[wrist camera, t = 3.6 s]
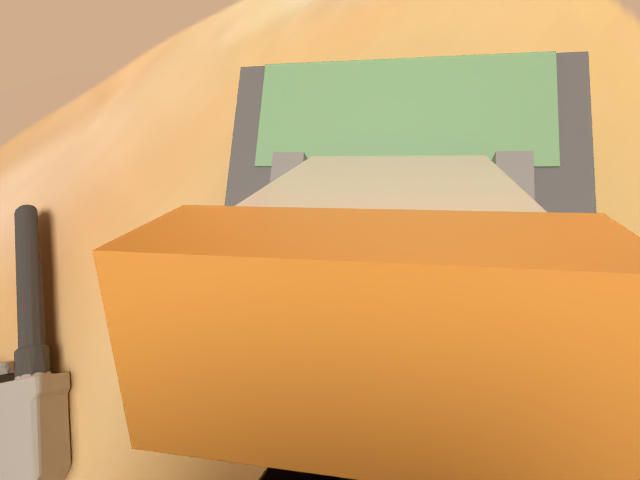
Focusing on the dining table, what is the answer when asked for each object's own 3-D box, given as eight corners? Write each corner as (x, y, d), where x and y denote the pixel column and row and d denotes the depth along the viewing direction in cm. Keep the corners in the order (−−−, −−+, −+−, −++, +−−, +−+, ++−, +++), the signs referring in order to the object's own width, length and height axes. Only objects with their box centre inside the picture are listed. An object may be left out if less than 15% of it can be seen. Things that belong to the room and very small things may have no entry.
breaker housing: (557, 360, 17) (635, 373, 11) (249, 336, 19) (183, 336, 13) (550, 110, 19) (612, 13, 13) (271, 116, 21) (222, 36, 15)
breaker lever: (483, 221, 14) (638, 519, 4) (313, 217, 16) (131, 448, 6) (490, 139, 14) (699, 276, 4) (311, 141, 15) (91, 250, 5)
